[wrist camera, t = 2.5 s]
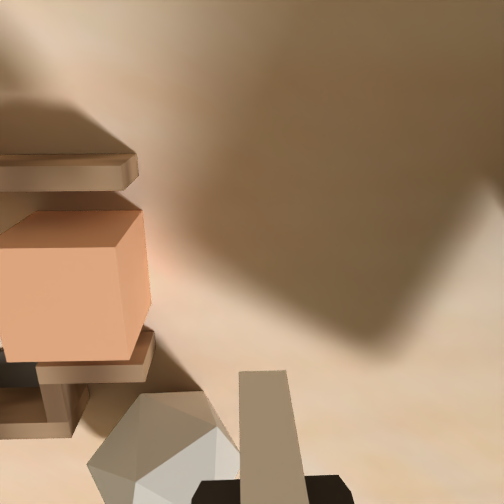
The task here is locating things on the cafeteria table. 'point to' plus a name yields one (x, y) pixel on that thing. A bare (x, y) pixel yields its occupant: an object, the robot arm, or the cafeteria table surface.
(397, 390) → the cafeteria table surface
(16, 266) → the block
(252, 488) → the robot arm
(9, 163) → the trap lane
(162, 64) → the cafeteria table surface
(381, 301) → the cafeteria table surface
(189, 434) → the die
